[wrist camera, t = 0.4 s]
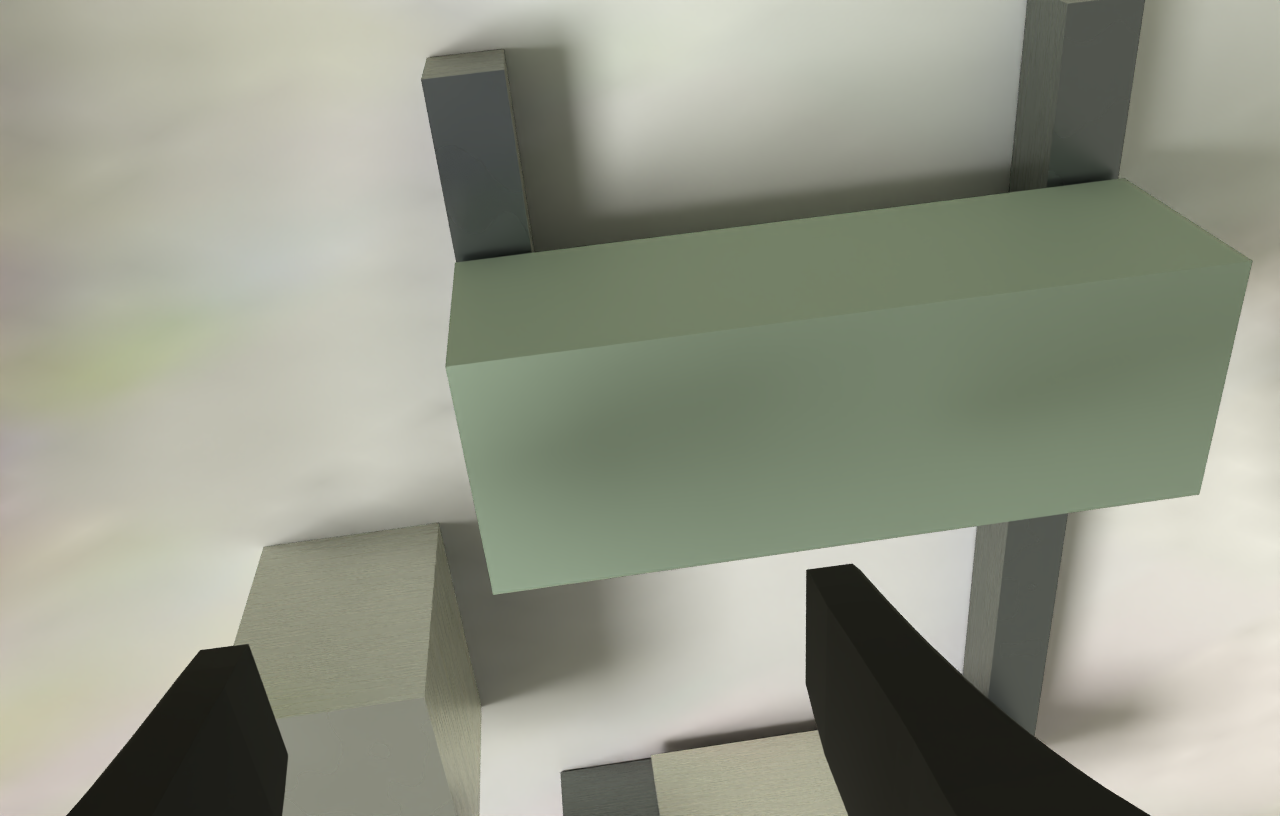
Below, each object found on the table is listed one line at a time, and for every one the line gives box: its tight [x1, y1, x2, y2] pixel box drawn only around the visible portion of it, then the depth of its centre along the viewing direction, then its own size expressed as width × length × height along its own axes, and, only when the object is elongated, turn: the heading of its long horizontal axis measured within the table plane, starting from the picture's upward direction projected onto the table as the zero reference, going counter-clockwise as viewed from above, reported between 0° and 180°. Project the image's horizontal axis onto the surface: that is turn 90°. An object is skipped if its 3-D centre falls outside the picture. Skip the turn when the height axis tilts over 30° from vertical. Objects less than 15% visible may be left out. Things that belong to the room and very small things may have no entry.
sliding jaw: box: [445, 178, 1252, 595], centre depth 20 cm, size 5×13×5 cm, turn 95°
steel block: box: [233, 523, 482, 816], centre depth 24 cm, size 6×4×6 cm, turn 5°
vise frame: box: [421, 0, 1145, 816], centre depth 23 cm, size 21×13×5 cm, turn 5°
